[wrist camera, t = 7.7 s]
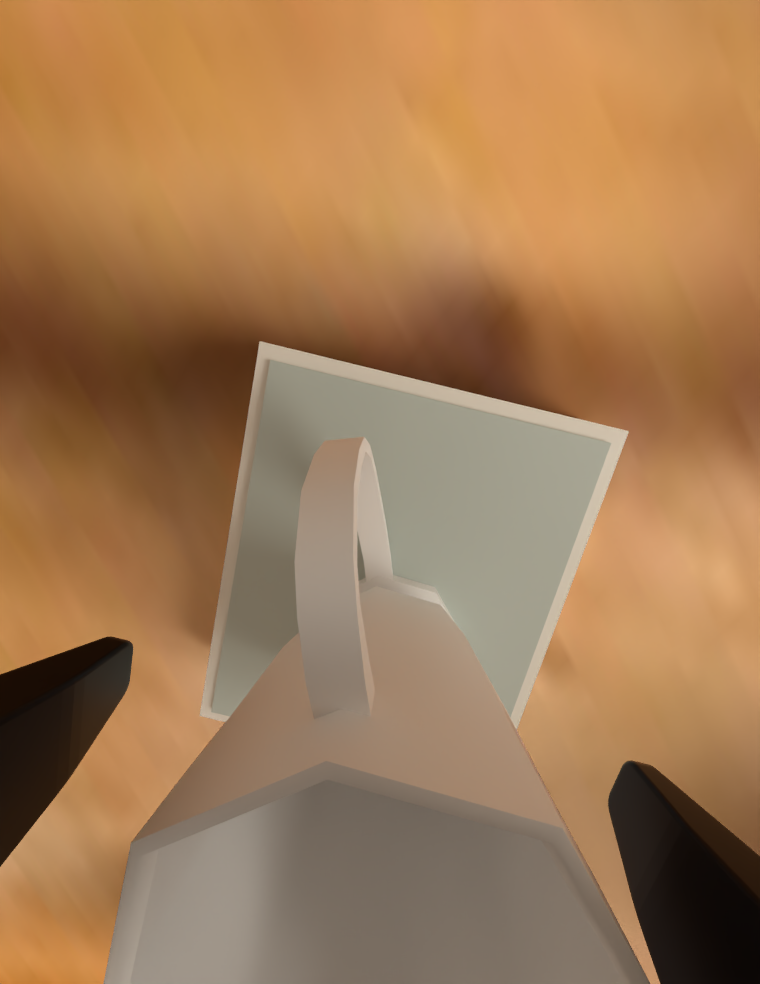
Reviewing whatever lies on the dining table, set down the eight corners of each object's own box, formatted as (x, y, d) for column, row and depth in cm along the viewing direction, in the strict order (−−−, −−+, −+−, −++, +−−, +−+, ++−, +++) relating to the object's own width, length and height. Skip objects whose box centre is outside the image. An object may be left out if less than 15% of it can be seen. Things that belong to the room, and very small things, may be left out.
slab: (480, 719, 18) (496, 790, 14) (233, 660, 18) (197, 719, 14) (584, 421, 15) (631, 432, 12) (288, 349, 15) (257, 340, 12)
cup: (291, 741, 14) (158, 1165, 7) (234, 435, 12) (-72, 531, 4) (510, 730, 14) (646, 1176, 6) (495, 408, 12) (683, 460, 4)
